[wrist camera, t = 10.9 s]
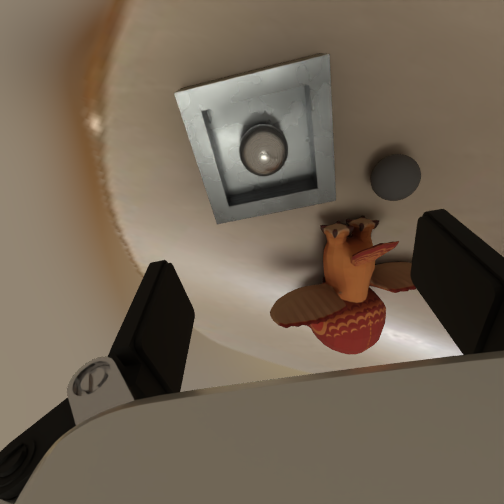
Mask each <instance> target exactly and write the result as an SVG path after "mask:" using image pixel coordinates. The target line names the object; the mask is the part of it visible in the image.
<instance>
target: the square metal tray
mask: <svg viewBox="0 0 504 504" xmlns="http://www.w3.org/2000/svg"><path fill="white" fill-rule="evenodd" d="M174 94H175V97H176V100H177V103H178V106H179V109H180V112H181V116H182V119H183V122H184V125H185V128H186V131H187V134H188V137H189V140H190V143H191V146H192V149H193V152H194V155H195V158H196V161H197V164H198V167H199V170H200V173H201V177H202V180H203V183H204V186H205V189H206V192H207V195H208V198H209V201H210V204H211V207H212V210H213V213H214V216H215V219H216V222H217V224H221V223H226V222H231V221H236V220H241V219H246V218H251V217H256V216H261V215H266V214H271V213H276V212H281V211H286V210H291V209H296V208H301V207H306V206H311V205H316V204H321V203H326V202H331V201H336V188H335V166H334V143H333V121H332V98H331V76H330V54H323V53H319V54H315V55H311V56H307V57H303V58H299V59H295V60H291V61H287V62H283V63H279V64H275V65H271V66H267V67H264V68H260V69H256V70H252V71H248V72H244V73H240V74H236V75H232V76H228V77H224V78H220V79H216V80H212V81H208V82H204V83H200V84H196V85H193V86H189V87H185V88H181V89H180V90H178V91H177V92H175V93H174ZM260 124H269V125H272V126H274V127H276V128H278V129H279V130H280V131H281V132H282V133H283V134H284V136H285V138H286V140H287V143H288V157H287V160H286V162H285V164H284V166H283V167H282V168H281V169H280V170H279V171H278V172H276V173H275V174H272V175H270V176H257V175H254V174H252V173H251V172H249V171H248V170H247V169H246V168H245V167H244V165H243V164H242V162H241V159H240V155H239V146H240V142H241V139H242V137H243V136H244V134H245V133H246V132H247V131H248V130H249V129H250V128H252V127H254V126H256V125H260Z"/></svg>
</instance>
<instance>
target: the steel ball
mask: <svg viewBox="0 0 504 504" xmlns="http://www.w3.org/2000/svg"><path fill="white" fill-rule="evenodd" d="M239 155H240V159H241V162H242V164H243V165H244V167H245V168H246V169H247V170H248V171H249V172H251V173H252V174H254V175H257V176H270V175H272V174H275V173H276V172H278V171H279V170H280V169H281V168H282V167H283V166H284V164H285V162H286V160H287V157H288V143H287V140H286V138H285V136H284V134H283V133H282V132H281V131H280V130H279V129H278V128H276V127H274V126H272V125H269V124H260V125H256V126H254V127H252V128H250V129H249V130H248V131H247V132H246V133H245V134H244V136H243V137H242V139H241V142H240V146H239Z"/></svg>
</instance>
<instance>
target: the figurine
mask: <svg viewBox="0 0 504 504" xmlns="http://www.w3.org/2000/svg"><path fill="white" fill-rule="evenodd" d="M346 223H347V225H348V226H346V225H342V224H341V222H340V221H337V222H336V224H333V225H328V226H327V225H320V226H321V230H322V231H323V233H324V234H326V237H327V244H326V246H325V248H324V255H323V263H324V274H325V276H324V277H323V283H322V284H320V285H311V286H305V287H301V288H298V289H295V290H293V291H291V292H289V293H287V294H285V295H284V296H282V297H281V298H279V299H278V300H277V301H276V302H275V304H274V305H273V307H272V309H271V311H270V315H271V317H272V319H273V321H274V322H276V323H277V324H278V325H279V326H282V327H285V328H288V327H290V326H296V327H299V326H301V325H307V326H309V327H310V328H311V329H312V331H313V333H314V334H315V335H316V337H317V338H318V339H319V340H320V341H321V342H322V343H323V344H324V345H326V346H327V347H329V348H331V349H332V350H335V351H338V352H341V353H345V354H358V353H362V352H363V351H365V350H367V349H368V348H370V347H371V346H373V345H374V344H375V343H376V342H377V341H378V340H379V337H380V335H381V332H382V329H383V327H384V324H385V318H386V307H385V305H384V303H383V302H382V300H381V299H380V298H379V297H378V296H377V295H376V293H375V292H374V291H372V290H371V289H370V288H369V286H374V287H377V288H381V289H384V290H387V291H390V292H394V293H397V292H400V291H408V290H414V289H416V287H415V285H414V284H413V282H412V280H411V276H410V272H411V265H412V263H408V262H388V263H382V264H378V265H375V260H376V259H377V258H379V257H380V256H382V255H384V254H385V253H387V252H388V251H390V250H392V249H393V248H395V247H396V246H397V244H398V243H399V241H396V242H389V243H380V244H378V245H375V246H373V244H372V240H371V232H372V230H373V229H375V228H376V227H377V225H378V224H379V220H370V219H366V218H365V216H361V218H359V219H356V220H350V219H346ZM351 232H352V235H351V237H348V238H347V236H348V235H350V234H351Z"/></svg>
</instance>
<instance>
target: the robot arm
mask: <svg viewBox="0 0 504 504" xmlns="http://www.w3.org/2000/svg"><path fill="white" fill-rule="evenodd" d="M410 276H411V280H412V282H413V284H414V285H415V287H416V288H417V290H418V291H419V293H420V294H421V295H422V297H423V298H424V300H425V301H426V302H427V304H428V305H429V307H430V308H431V309H432V311H433V312H434V314H435V315H436V317H437V318H438V319H439V321H440V322H441V324H442V325H443V326H444V328H445V329H446V331H447V332H448V334H449V335H450V336H451V338H452V339H453V341H454V342H455V343H456V345H457V346H458V348H459V349H460V351H461V352H462V353H463V355H459V356H450V357H442V358H434V359H426V360H418V361H410V362H402V363H394V364H386V365H378V366H370V367H362V368H354V369H347V370H339V371H331V372H324V373H316V374H308V375H302V376H293V377H286V378H278V379H270V380H263V381H256V382H248V383H241V384H234V385H226V386H219V387H212V388H204V389H197V390H191V391H185V392H180V389H181V384H182V380H183V374H184V369H185V364H186V359H187V354H188V349H189V344H190V339H191V334H192V329H193V323H194V318H195V313H194V309H193V307H192V304H191V302H190V300H189V298H188V296H187V294H186V292H185V290H184V288H183V285H182V283H181V281H180V279H179V277H178V275H177V273H176V271H175V269H174V267H173V265H172V263H168V262H167V261H166V260H162V261H157V262H152V263H150V264H149V266H148V268H147V271H146V273H145V275H144V277H143V279H142V282H141V284H140V286H139V288H138V290H137V293H136V295H135V297H134V299H133V302H132V304H131V306H130V308H129V310H128V312H127V315H126V317H125V319H124V322H123V323H122V326H121V328H120V330H119V332H118V334H117V337H116V339H115V341H114V343H113V345H112V348H111V350H110V353H109V355H108V357H99V358H96V359H93V360H92V361H89V362H88V363H86V364H85V365H84V366H82V367H81V368H80V369H79V370H78V371H77V372H76V373H75V374H74V375H73V377H72V379H71V380H70V382H69V385H68V388H67V396H68V398H66V399H65V400H64V401H63V402H61V403H60V404H59V405H58V406H57V407H55V408H54V409H52V410H51V411H50V412H49V413H48V414H46V415H45V416H44V417H42V418H41V419H40V420H39V421H37V422H36V423H35V424H33V425H32V426H31V427H30V428H28V429H27V430H26V431H24V432H23V433H22V434H21V435H19V436H18V437H17V438H16V439H14V440H13V441H12V442H10V443H9V444H8V445H7V446H6V447H5V448H4V449H3V450H2V451H1V452H0V504H504V257H503V256H501V255H500V254H499V253H498V252H496V251H495V250H494V249H493V248H491V247H490V246H489V245H488V244H487V243H485V242H484V241H483V240H482V239H480V238H479V237H478V236H477V235H476V234H474V233H473V232H472V231H471V230H469V229H468V228H467V227H466V226H464V225H463V224H462V223H461V222H460V221H458V220H457V219H456V218H455V217H453V216H452V215H451V214H450V213H448V212H447V211H446V210H444V209H439V210H434V211H428V212H425V213H424V214H423V216H422V217H420V218H419V219H418V223H417V230H416V237H415V244H414V251H413V258H412V265H411V272H410Z"/></svg>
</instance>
